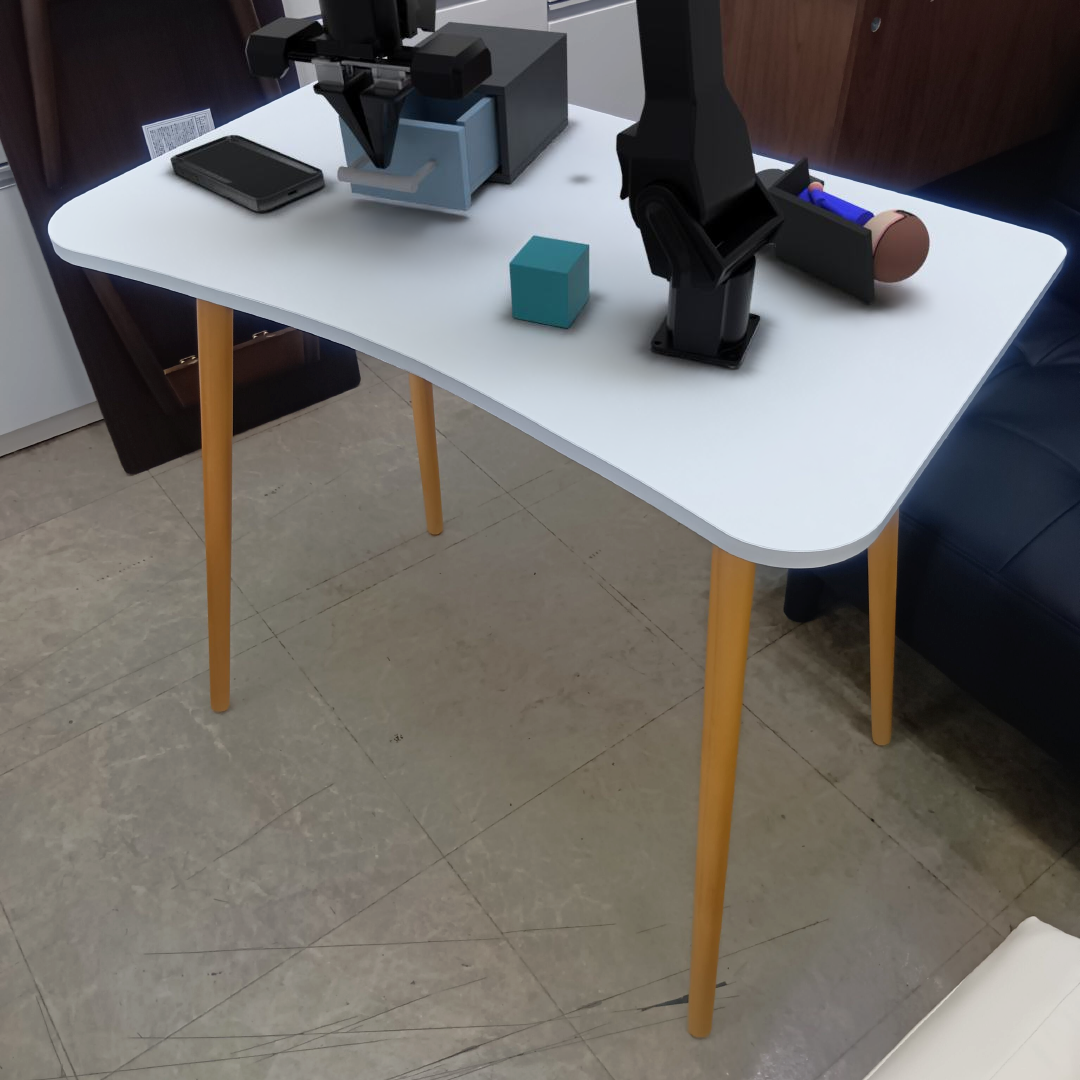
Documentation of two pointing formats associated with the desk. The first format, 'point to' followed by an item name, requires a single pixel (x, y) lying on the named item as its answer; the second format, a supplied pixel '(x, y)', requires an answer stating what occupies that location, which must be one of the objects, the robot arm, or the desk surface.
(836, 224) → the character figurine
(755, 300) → the desk surface
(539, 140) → the drawer cabinet
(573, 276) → the teal cube
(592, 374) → the desk surface
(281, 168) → the phone
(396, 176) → the light blue drawer
